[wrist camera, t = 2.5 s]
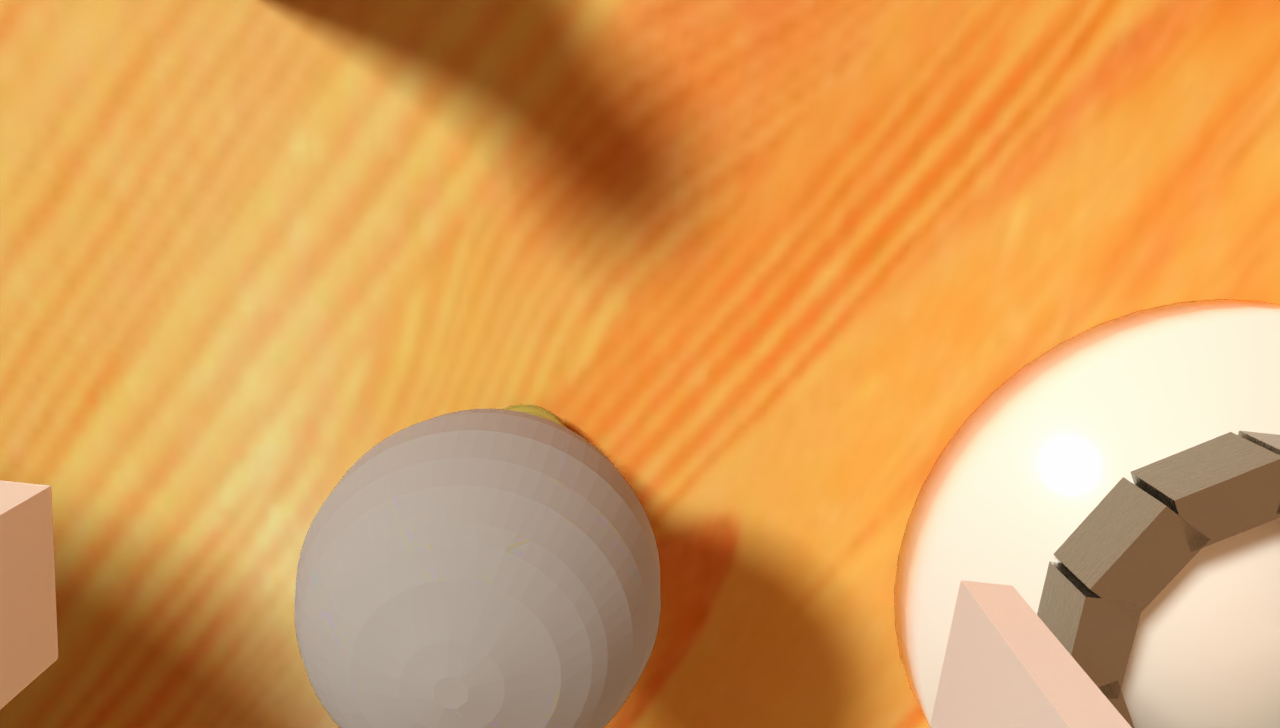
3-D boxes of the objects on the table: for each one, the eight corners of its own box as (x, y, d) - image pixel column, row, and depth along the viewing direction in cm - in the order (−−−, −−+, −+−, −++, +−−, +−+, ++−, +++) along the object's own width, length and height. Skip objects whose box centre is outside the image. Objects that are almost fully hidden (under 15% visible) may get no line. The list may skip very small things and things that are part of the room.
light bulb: (632, 560, 22) (639, 895, 12) (404, 534, 22) (224, 855, 12) (664, 339, 21) (698, 515, 11) (421, 309, 20) (235, 462, 11)
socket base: (850, 805, 24) (870, 864, 22) (954, 267, 20) (988, 280, 18) (1371, 849, 24) (1436, 911, 22) (1553, 333, 21) (1649, 353, 19)
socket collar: (997, 781, 21) (1027, 831, 20) (1084, 414, 19) (1124, 438, 18) (1367, 813, 21) (1424, 865, 20) (1491, 457, 19) (1567, 484, 18)
